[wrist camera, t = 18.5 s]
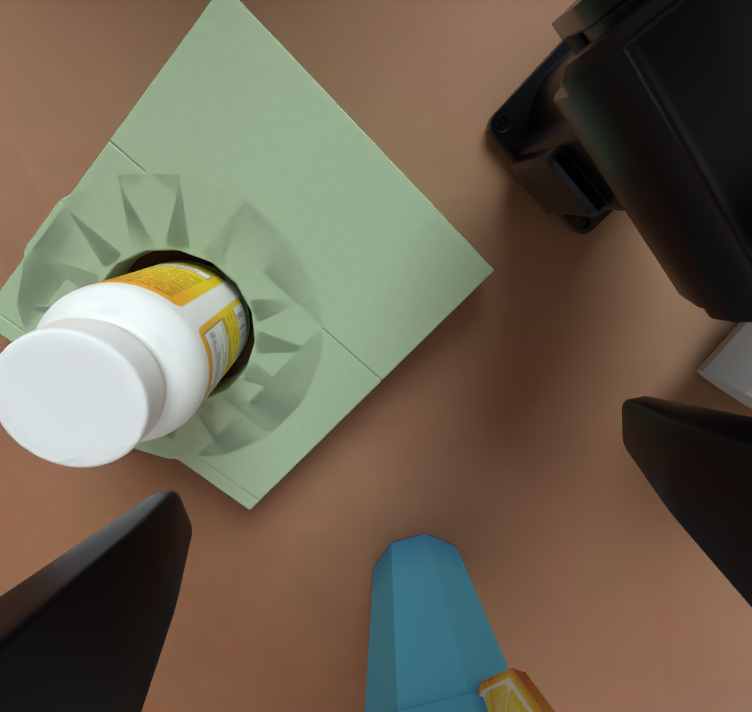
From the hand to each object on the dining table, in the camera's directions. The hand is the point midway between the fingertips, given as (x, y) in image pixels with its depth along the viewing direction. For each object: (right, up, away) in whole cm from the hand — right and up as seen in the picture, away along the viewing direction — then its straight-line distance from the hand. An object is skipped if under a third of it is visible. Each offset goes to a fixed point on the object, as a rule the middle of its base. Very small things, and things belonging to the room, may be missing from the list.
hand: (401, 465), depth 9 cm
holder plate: (-6, +5, +12) cm, 14 cm away
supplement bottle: (-9, +4, +12) cm, 16 cm away
